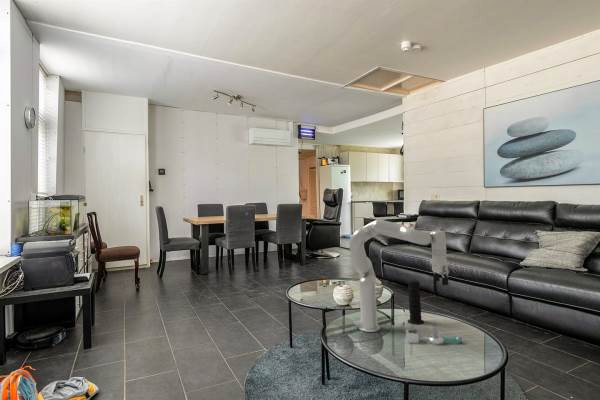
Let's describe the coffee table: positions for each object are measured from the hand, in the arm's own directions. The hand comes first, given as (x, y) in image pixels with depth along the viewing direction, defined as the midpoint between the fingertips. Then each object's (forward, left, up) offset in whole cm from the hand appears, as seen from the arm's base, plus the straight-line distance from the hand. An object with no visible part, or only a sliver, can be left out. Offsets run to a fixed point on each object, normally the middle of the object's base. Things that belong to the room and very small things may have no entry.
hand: (441, 282), depth 185 cm
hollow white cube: (-18, -13, -28) cm, 36 cm away
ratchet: (-2, -13, -28) cm, 31 cm away
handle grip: (-13, +17, -28) cm, 36 cm away
